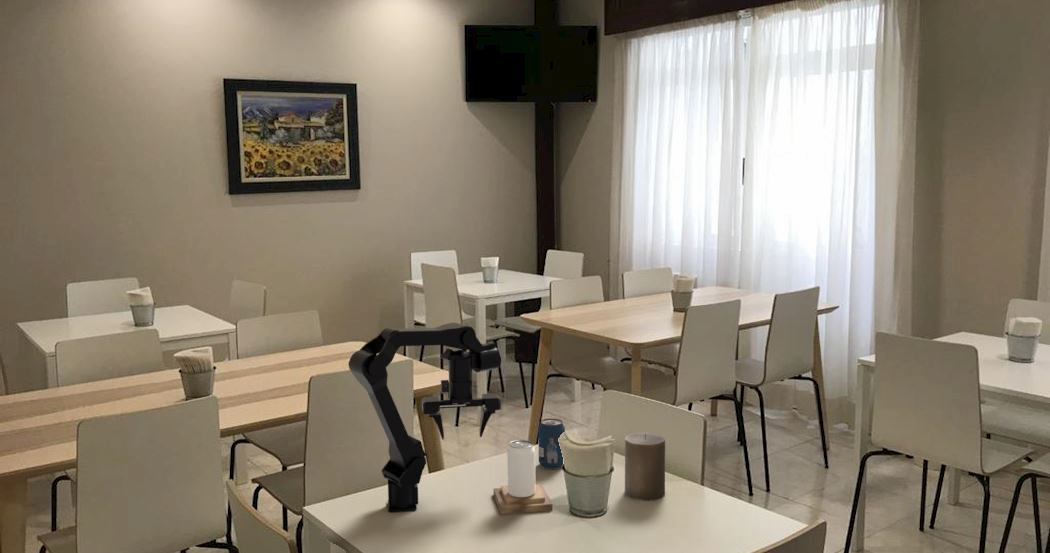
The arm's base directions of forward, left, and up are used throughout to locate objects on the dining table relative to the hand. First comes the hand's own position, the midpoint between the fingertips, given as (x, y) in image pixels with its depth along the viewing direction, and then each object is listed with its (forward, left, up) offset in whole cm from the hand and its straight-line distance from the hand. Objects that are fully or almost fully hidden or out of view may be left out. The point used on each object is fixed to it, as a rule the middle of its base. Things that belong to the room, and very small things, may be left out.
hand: (461, 437), depth 209 cm
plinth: (+13, -11, -13) cm, 21 cm away
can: (+13, -12, -11) cm, 20 cm away
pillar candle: (+43, -11, -13) cm, 46 cm away
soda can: (+25, +12, -13) cm, 31 cm away
